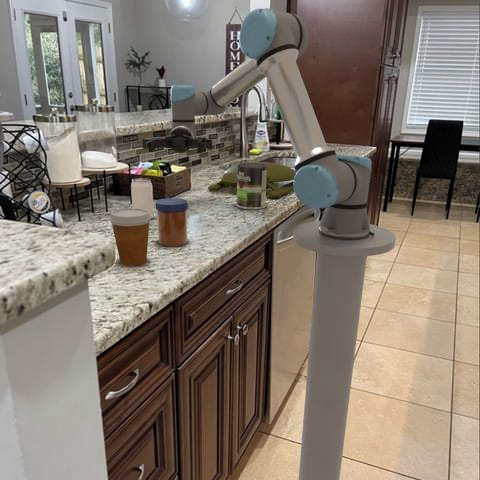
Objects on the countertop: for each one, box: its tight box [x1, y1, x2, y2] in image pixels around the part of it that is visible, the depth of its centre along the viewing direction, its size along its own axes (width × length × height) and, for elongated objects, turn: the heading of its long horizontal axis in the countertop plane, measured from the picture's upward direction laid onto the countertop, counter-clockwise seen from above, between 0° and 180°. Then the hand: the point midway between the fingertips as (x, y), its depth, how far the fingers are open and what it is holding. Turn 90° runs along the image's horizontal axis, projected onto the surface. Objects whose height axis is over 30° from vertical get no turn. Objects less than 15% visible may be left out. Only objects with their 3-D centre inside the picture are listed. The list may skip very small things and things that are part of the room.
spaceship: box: [207, 161, 296, 199], centre depth 205 cm, size 35×31×10 cm
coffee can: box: [236, 162, 267, 210], centre depth 174 cm, size 10×10×14 cm
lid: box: [155, 197, 189, 212], centre depth 132 cm, size 8×8×2 cm
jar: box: [156, 210, 188, 247], centre depth 134 cm, size 8×8×11 cm
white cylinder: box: [130, 177, 155, 220], centre depth 157 cm, size 6×6×12 cm
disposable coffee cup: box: [108, 207, 152, 267], centre depth 118 cm, size 10×10×12 cm
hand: (174, 147), depth 138 cm, fingers open, 13 cm apart
